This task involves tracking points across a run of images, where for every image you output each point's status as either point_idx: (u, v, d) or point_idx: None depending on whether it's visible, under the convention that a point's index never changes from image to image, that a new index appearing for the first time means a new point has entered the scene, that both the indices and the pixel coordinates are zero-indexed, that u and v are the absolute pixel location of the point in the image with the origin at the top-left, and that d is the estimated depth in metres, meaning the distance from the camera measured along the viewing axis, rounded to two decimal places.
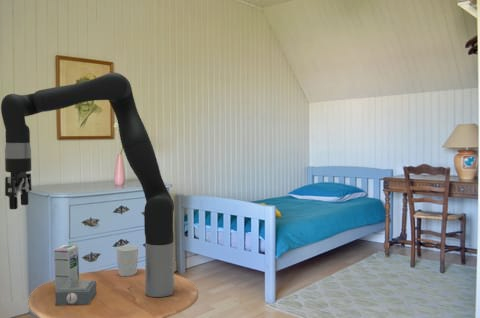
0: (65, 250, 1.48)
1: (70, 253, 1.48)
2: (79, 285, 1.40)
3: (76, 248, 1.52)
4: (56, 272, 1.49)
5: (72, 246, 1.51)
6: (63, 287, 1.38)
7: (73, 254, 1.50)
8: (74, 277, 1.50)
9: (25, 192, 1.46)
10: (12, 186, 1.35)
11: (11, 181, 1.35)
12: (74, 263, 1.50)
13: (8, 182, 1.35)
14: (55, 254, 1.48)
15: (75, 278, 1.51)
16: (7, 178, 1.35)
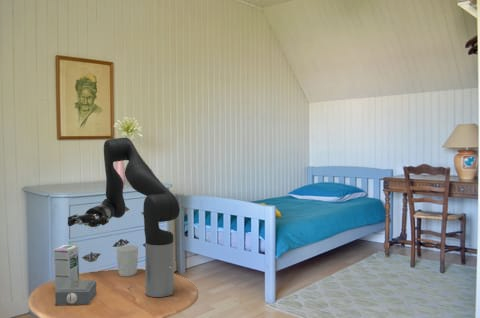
0: (65, 250, 1.48)
1: (69, 253, 1.48)
2: (79, 285, 1.40)
3: (76, 248, 1.52)
4: (56, 272, 1.49)
5: (72, 246, 1.51)
6: (63, 287, 1.38)
7: (73, 254, 1.50)
8: (74, 277, 1.50)
9: None
10: None
11: None
12: (74, 263, 1.50)
13: None
14: (55, 254, 1.48)
15: (75, 278, 1.51)
16: None
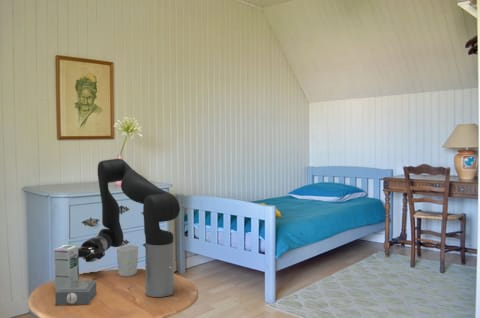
0: (65, 250, 1.48)
1: (70, 253, 1.48)
2: (79, 285, 1.40)
3: (76, 248, 1.52)
4: (56, 272, 1.49)
5: (72, 246, 1.51)
6: (63, 287, 1.38)
7: (73, 254, 1.50)
8: (74, 277, 1.50)
9: None
10: None
11: None
12: (74, 263, 1.50)
13: None
14: (55, 254, 1.48)
15: (75, 278, 1.51)
16: None
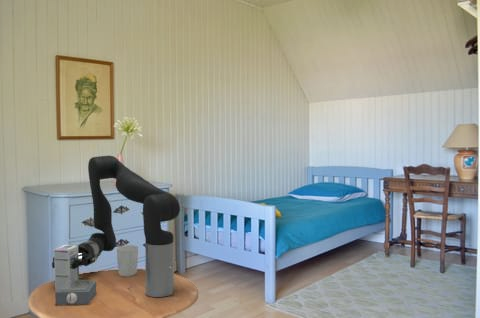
0: (65, 250, 1.48)
1: (70, 253, 1.48)
2: (79, 285, 1.40)
3: (76, 247, 1.52)
4: (56, 272, 1.49)
5: (72, 246, 1.51)
6: (63, 287, 1.38)
7: (73, 254, 1.50)
8: (74, 277, 1.50)
9: None
10: None
11: None
12: None
13: None
14: (55, 254, 1.48)
15: (75, 278, 1.51)
16: None
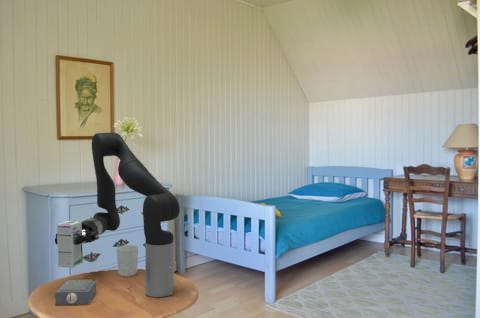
0: (68, 225, 1.44)
1: (73, 229, 1.44)
2: (79, 285, 1.40)
3: (79, 223, 1.48)
4: (59, 248, 1.45)
5: (75, 222, 1.47)
6: (63, 287, 1.38)
7: (76, 229, 1.46)
8: (77, 253, 1.47)
9: None
10: None
11: None
12: None
13: None
14: (58, 229, 1.44)
15: (78, 254, 1.47)
16: None
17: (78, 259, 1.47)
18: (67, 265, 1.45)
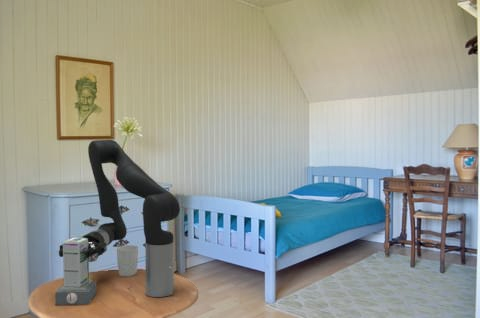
0: (75, 243, 1.38)
1: (80, 246, 1.38)
2: None
3: (86, 240, 1.42)
4: (65, 267, 1.39)
5: (82, 239, 1.41)
6: (63, 287, 1.38)
7: (83, 247, 1.40)
8: (84, 272, 1.41)
9: None
10: None
11: None
12: (84, 257, 1.41)
13: None
14: (64, 247, 1.39)
15: (85, 273, 1.42)
16: None
17: (85, 277, 1.42)
18: (73, 284, 1.39)
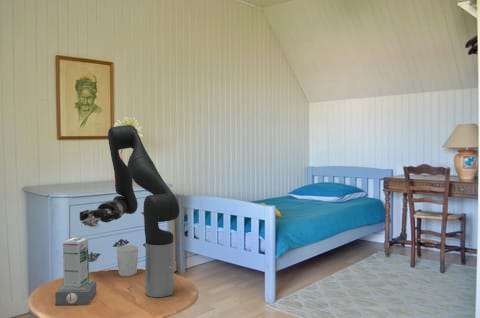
0: (75, 243, 1.38)
1: (80, 246, 1.38)
2: None
3: (86, 240, 1.42)
4: (65, 267, 1.39)
5: (82, 239, 1.41)
6: (63, 287, 1.38)
7: (83, 247, 1.40)
8: (84, 272, 1.41)
9: None
10: None
11: None
12: (84, 257, 1.41)
13: None
14: (64, 247, 1.39)
15: (85, 273, 1.42)
16: None
17: (85, 277, 1.42)
18: (73, 284, 1.39)
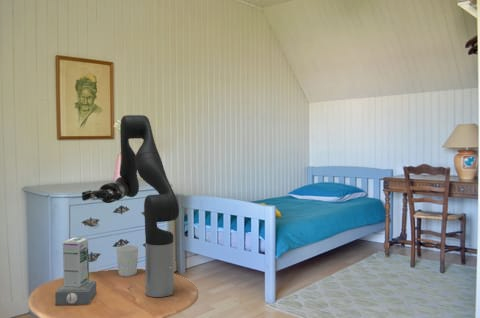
0: (75, 243, 1.38)
1: (80, 246, 1.38)
2: None
3: (86, 240, 1.42)
4: (65, 267, 1.39)
5: (82, 239, 1.41)
6: (63, 287, 1.38)
7: (83, 247, 1.40)
8: (84, 272, 1.41)
9: None
10: None
11: None
12: (84, 257, 1.41)
13: None
14: (64, 247, 1.39)
15: (85, 273, 1.42)
16: None
17: (85, 277, 1.42)
18: (73, 284, 1.39)
